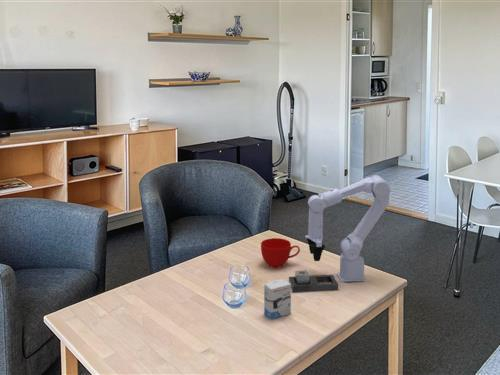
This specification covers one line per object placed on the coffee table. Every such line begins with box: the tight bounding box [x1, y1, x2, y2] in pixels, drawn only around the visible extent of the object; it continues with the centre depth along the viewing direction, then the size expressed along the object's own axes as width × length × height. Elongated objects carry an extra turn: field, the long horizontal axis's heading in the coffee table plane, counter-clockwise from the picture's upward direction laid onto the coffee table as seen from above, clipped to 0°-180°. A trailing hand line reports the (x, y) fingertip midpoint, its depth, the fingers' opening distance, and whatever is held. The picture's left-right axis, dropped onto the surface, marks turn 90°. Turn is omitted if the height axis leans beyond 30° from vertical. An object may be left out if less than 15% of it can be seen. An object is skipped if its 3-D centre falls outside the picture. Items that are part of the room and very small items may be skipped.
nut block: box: [294, 269, 310, 285], centre depth 199 cm, size 4×4×6 cm
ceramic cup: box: [260, 237, 301, 269], centre depth 219 cm, size 13×17×10 cm
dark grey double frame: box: [288, 274, 339, 293], centre depth 200 cm, size 18×9×2 cm, turn 95°
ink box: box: [263, 278, 292, 320], centre depth 178 cm, size 8×5×12 cm, turn 118°
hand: (314, 257), depth 204 cm, fingers open, 7 cm apart
